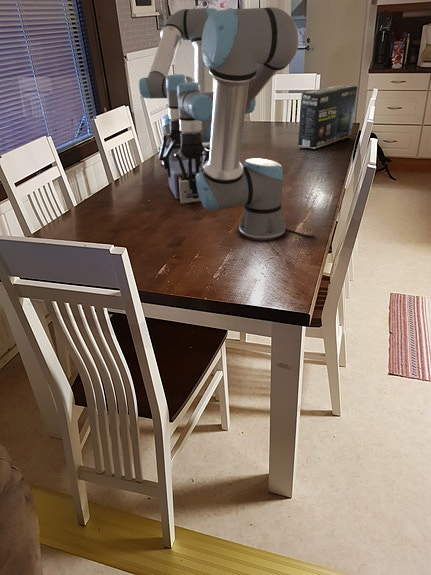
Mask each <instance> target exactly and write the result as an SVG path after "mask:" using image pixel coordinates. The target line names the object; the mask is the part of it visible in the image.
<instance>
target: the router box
mask: <svg viewBox="0 0 431 575" xmlns="http://www.w3.org/2000/svg"><path fill="white" fill-rule="evenodd" d="M357 93H358V86H356V85H350V84H339V85H338V84H337V85H334V86H328V87H324V88H318V89H314V90H309V91H304V92H301V93H300V109H299V110H300V111H299V124H298V137H297V146H298V145H302V146H307V147H317V146H320V145H323V144H325V143H328V142H331V141H333V140H336V139H338V138H341V137H344V136H347V135H351V136H352V133H353V132H352V131H353V125H354V115H355V109H356V99H357ZM311 151H313V150H312V149H311Z"/></svg>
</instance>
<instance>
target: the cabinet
mask: <svg viewBox="0 0 431 575" xmlns="http://www.w3.org/2000/svg"><path fill="white" fill-rule="evenodd" d="M182 162H183V165H184V168H185V171H186V174H188V168H187V160H183V161H182ZM169 168H170V178H168V187H169V189H170V191H171V192H172V195H173V196H174V198H175V200H180V196H179V194H178V189H177V176H178V175H182V172H181V169H180V166H179V162H178V161H173V162H169ZM200 171H201V166H199V172H200ZM192 174H195V168H194V159H192Z"/></svg>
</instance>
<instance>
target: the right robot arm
mask: <svg viewBox="0 0 431 575" xmlns="http://www.w3.org/2000/svg"><path fill="white" fill-rule="evenodd" d="M299 45H300V35H299V30H298V26H297V24H296V22H295V21H294V18H292V16H291V15H290V14H288V12H286V11H285V10H283V9H281V8H278V7H272V6H271V7H253V8H252V7H251V8H250V7H249V8H232V7H230V8H227V9H226V8H225V9H217V11H214V12H213V13H211V14H210V16H209V17H208V19H207V20H206V23H205V26H204V29H203V35H202V49H203V51H202V56H203V61H204V63H205V65H206V66H207V67H209V72H210V74H211V75H212V76H213V77H214V92H207V93H201V91H200V85H199V84H198V83H196V82H184V83H180V84H178V86H177V97H178V108H179V121H180V131H181V133H180V136H181V147H180V151H178V152H177V153H175V154H174V155H175V157H176V158H177V160H178V162H179V166H180V169H181V172H182V175H183V178H184V179H185V180H188V181H189V188H190V190H192V193H197V190H198V194H199V197H200V200H201V201H200V202H201V204H202V207H203V208H204V209H205V211H206V210H207V211H208V212H209V211H210V212H212V211H221V210H226V209H231V208H238V207H244V211H243V213H242V216H241V220H240V222H239V225H238V232H239V235H240V236H241V237H242V238H244V239H247V240H250V241H254V242H271V241H277V240H279V239H281V238H283V237H285V235H286V234H287V233H290V234H294V235H297V236H299V237H303V238H309V239H314V238H315V235H311V234H304V233H301V232H298V231H296V230H292V229H288V228H287V223H286V221H285V216H284V214H283V210H282V200H283V183H284V174H283V173H284V172H283V171H284V170H283V166H282V164H280V163H279V162H277V161H275V160H271V159H266V158H259V157H258V158H257V157H256V158H255V157H253V158H248V159H245V160H244V163H243V164H242V163H241V162H240V159H241V151H242V142H243V134H244V127H245V126H244V125H245V119H246V118H245V117H246V115H247V114H251V113H253V112H254V111H255V107H256V103H257V102H256V97H257V96H258V95H259V94H260V93H261V92H262V90H263V89H264V88H265V87H266V85H267V84H268V83H269V82H270V81H271V79H272V78H273V77H274V76H275V75H276V73H277V72H278V71H282V70H284V69H285V68H287V67H288V65H290V63H291V62H292V61H293V60H294V58H295V56H296V54H297V52H298V49H299ZM210 118H212V127H211V142H210V148H209V149H208V148H204V146H203V141H202V132H201V130H202V122H201V121H207V120H208V119H210ZM202 152H203V156H202V160H201V164H200V165H199V157H200V155H201V154H202ZM181 154H183V155H184V156H185V157H186V158H187V168H188V176H187V174H186V171H185V168H184V165H183V162H182V159H181V157H182V155H181ZM192 159H193V160H194V168H195V179H193V176H192ZM242 165H244V166H242ZM199 167H200V168H201V171H200V172H199ZM193 198H194V199H196V198H198V197H193Z"/></svg>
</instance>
